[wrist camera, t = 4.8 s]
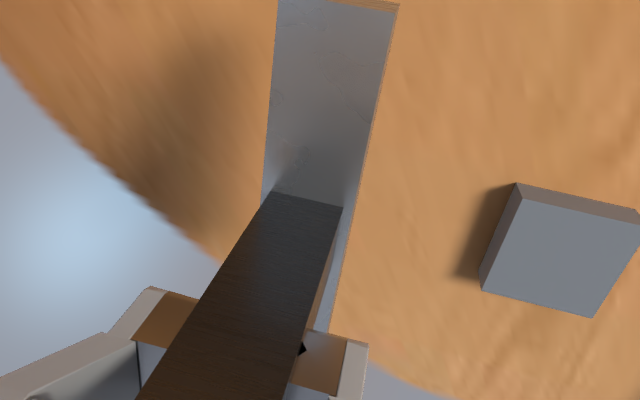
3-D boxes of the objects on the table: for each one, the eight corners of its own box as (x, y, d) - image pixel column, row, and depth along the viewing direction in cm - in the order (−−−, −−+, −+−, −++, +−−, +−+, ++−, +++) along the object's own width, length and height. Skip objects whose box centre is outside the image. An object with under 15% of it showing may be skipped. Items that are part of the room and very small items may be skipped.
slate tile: (514, 179, 27) (522, 198, 25) (632, 206, 27) (650, 227, 25) (477, 267, 31) (481, 290, 29) (580, 292, 30) (592, 318, 28)
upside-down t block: (302, -14, 13) (-32, 73, 4) (399, 3, 13) (326, 151, 3) (265, 317, 21) (117, 651, 11) (327, 333, 20) (236, 694, 10)
